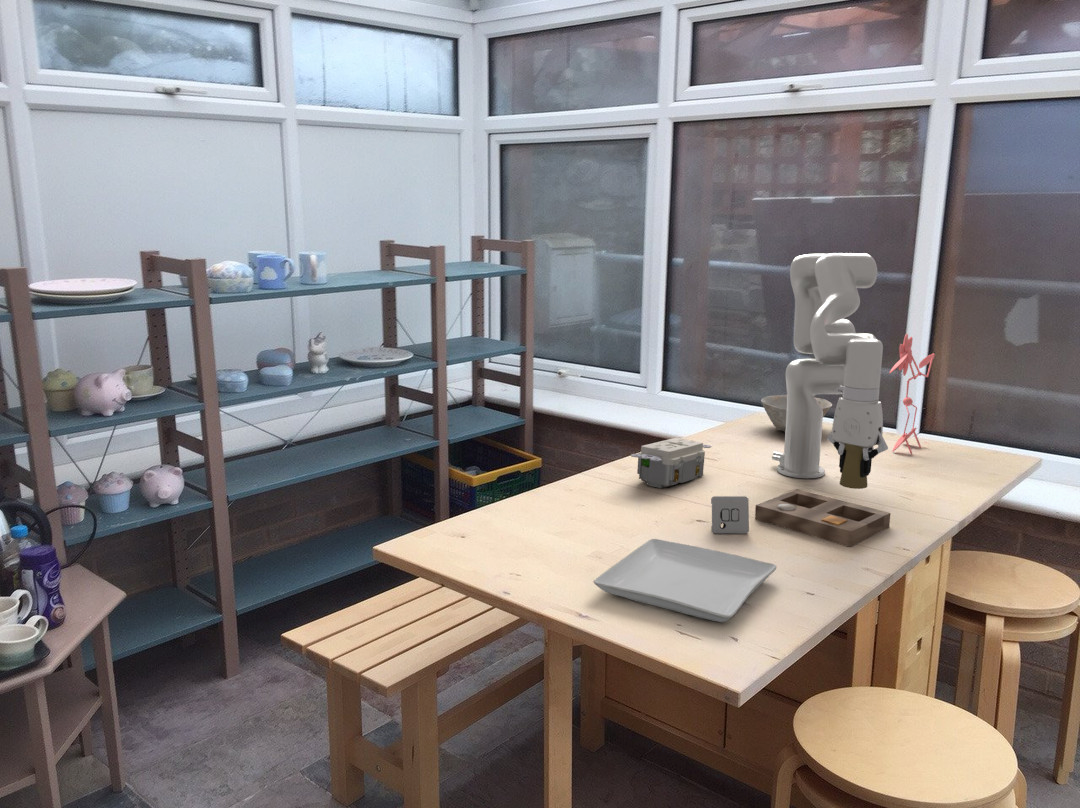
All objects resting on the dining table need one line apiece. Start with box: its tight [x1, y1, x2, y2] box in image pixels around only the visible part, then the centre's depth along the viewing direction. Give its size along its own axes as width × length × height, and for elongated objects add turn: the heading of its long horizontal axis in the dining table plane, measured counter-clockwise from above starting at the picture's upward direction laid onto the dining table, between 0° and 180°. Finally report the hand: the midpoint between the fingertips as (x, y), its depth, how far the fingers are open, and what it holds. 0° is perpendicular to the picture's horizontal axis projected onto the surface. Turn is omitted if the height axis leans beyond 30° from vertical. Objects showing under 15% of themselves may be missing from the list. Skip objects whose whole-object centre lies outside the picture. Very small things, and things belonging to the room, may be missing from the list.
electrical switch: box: [710, 495, 750, 535], centre depth 204 cm, size 8×5×8 cm, turn 90°
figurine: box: [888, 333, 936, 455], centre depth 273 cm, size 15×26×35 cm, turn 142°
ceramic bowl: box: [761, 394, 833, 433], centre depth 294 cm, size 22×23×10 cm
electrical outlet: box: [630, 437, 712, 489], centre depth 242 cm, size 12×28×10 cm, turn 141°
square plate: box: [592, 538, 778, 623], centre depth 174 cm, size 27×27×4 cm
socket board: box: [754, 488, 891, 548], centre depth 209 cm, size 24×18×4 cm
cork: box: [839, 444, 868, 490], centre depth 204 cm, size 6×6×11 cm
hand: (854, 473), depth 204 cm, fingers closed on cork, 4 cm apart
